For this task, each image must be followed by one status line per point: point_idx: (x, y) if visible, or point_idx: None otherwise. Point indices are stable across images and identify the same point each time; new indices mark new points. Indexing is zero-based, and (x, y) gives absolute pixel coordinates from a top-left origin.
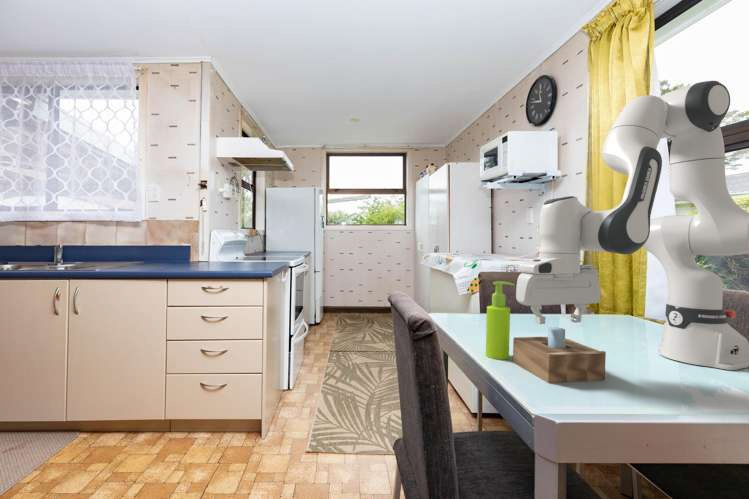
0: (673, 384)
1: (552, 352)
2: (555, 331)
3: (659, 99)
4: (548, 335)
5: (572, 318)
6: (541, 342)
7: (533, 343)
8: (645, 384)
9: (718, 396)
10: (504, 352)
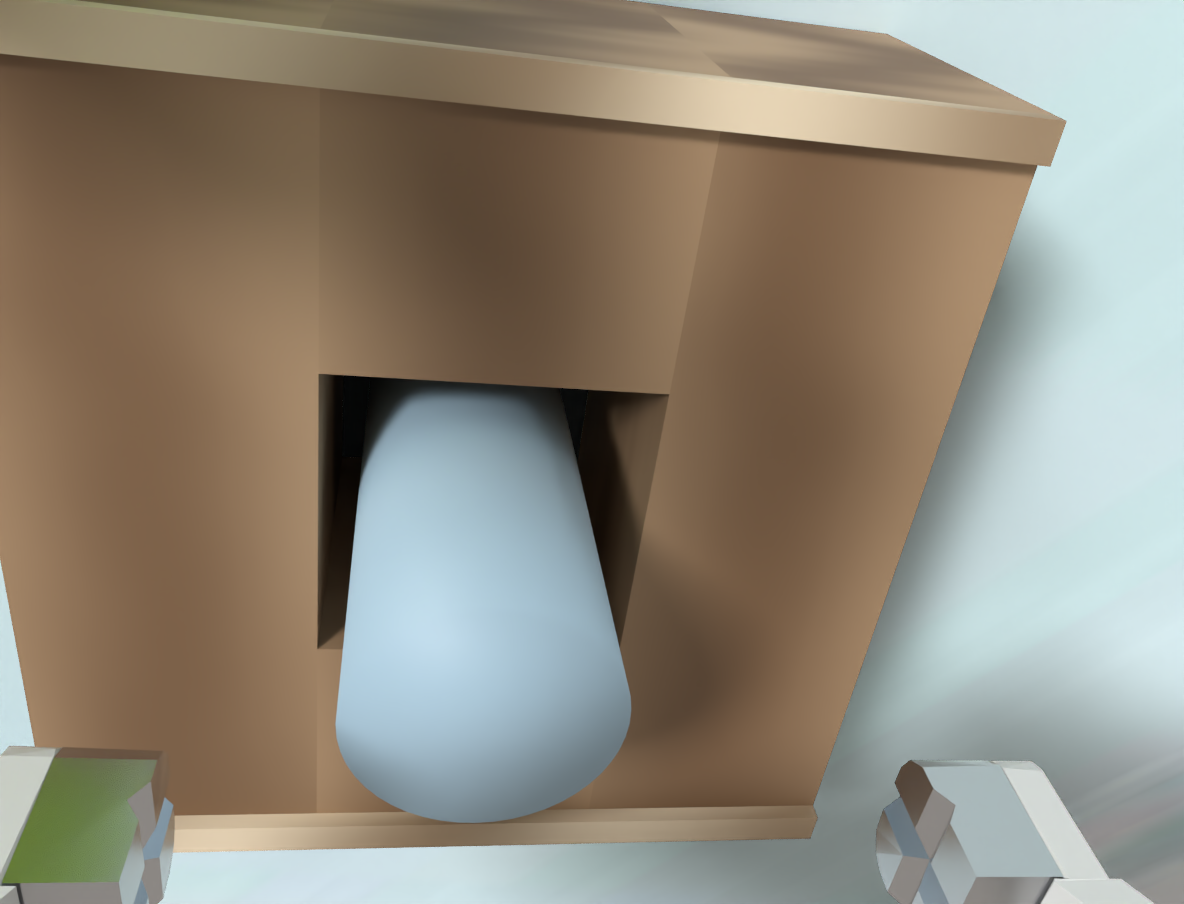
0: (1139, 743)
1: (176, 766)
2: (380, 777)
3: None
4: (355, 592)
5: (932, 830)
6: (356, 352)
7: (159, 384)
8: (949, 724)
9: (1137, 889)
10: None
